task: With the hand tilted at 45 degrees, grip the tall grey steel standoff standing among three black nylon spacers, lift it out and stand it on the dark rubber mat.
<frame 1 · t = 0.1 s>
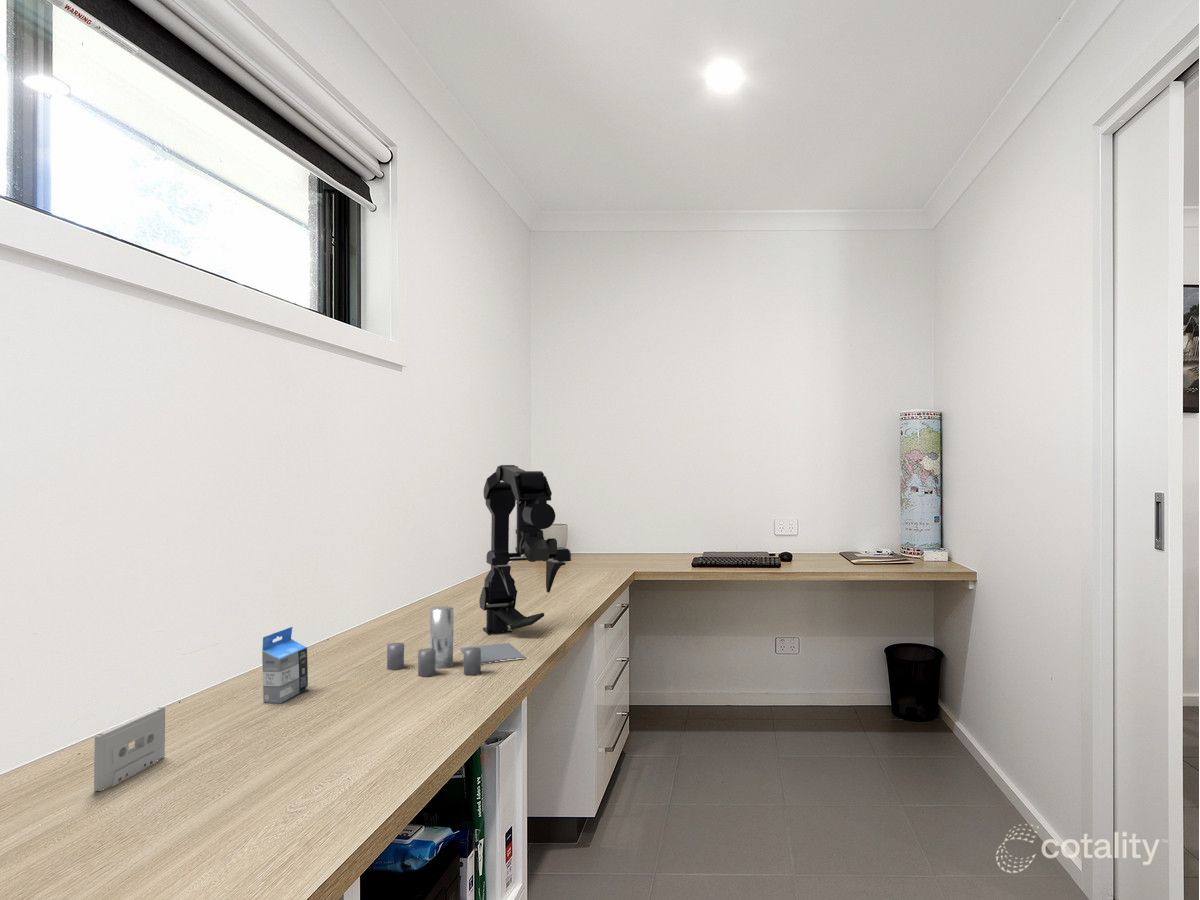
hand: (529, 593, 166), 15 cm above the worktop, tool pointing down, fingers open, 9 cm apart
nylon spacers: (430, 660, 154), on the worktop
cassette: (131, 775, 104), on the worktop
rubber mat: (492, 654, 168), on the worktop
handheld gaming console: (523, 625, 189), point 2 cm above the worktop, touching arm
steel standoff: (441, 665, 159), on the worktop
label tape box: (285, 697, 139), on the worktop
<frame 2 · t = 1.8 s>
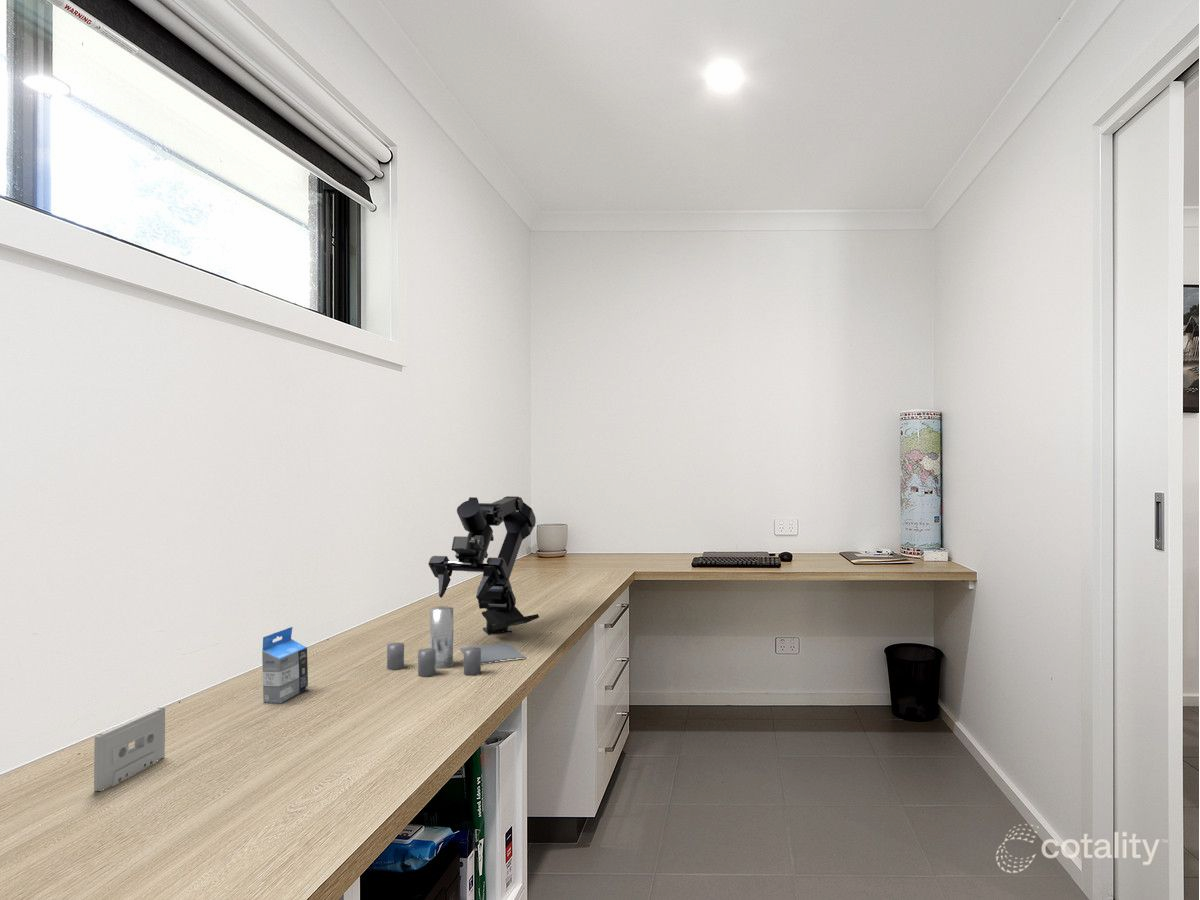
hand: (458, 597, 168), 13 cm above the worktop, tool tilted 45°, fingers open, 9 cm apart
handheld gaming console: (513, 626, 185), point 3 cm above the worktop, touching arm
everything else where it was.
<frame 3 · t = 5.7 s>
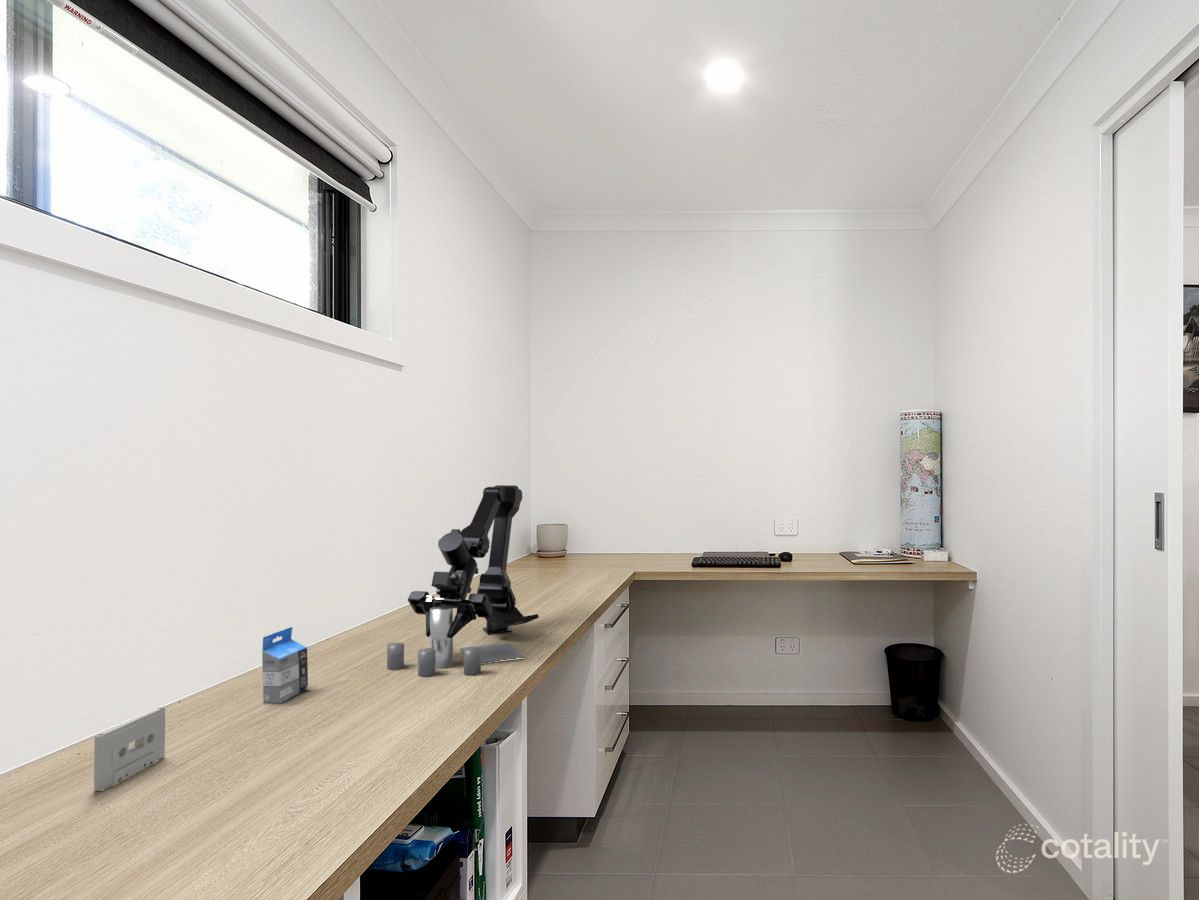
hand: (438, 636, 158), 7 cm above the worktop, tool tilted 45°, fingers closed on steel standoff, 5 cm apart
steel standoff: (441, 665, 159), on the worktop, touching gripper
everything else where it was.
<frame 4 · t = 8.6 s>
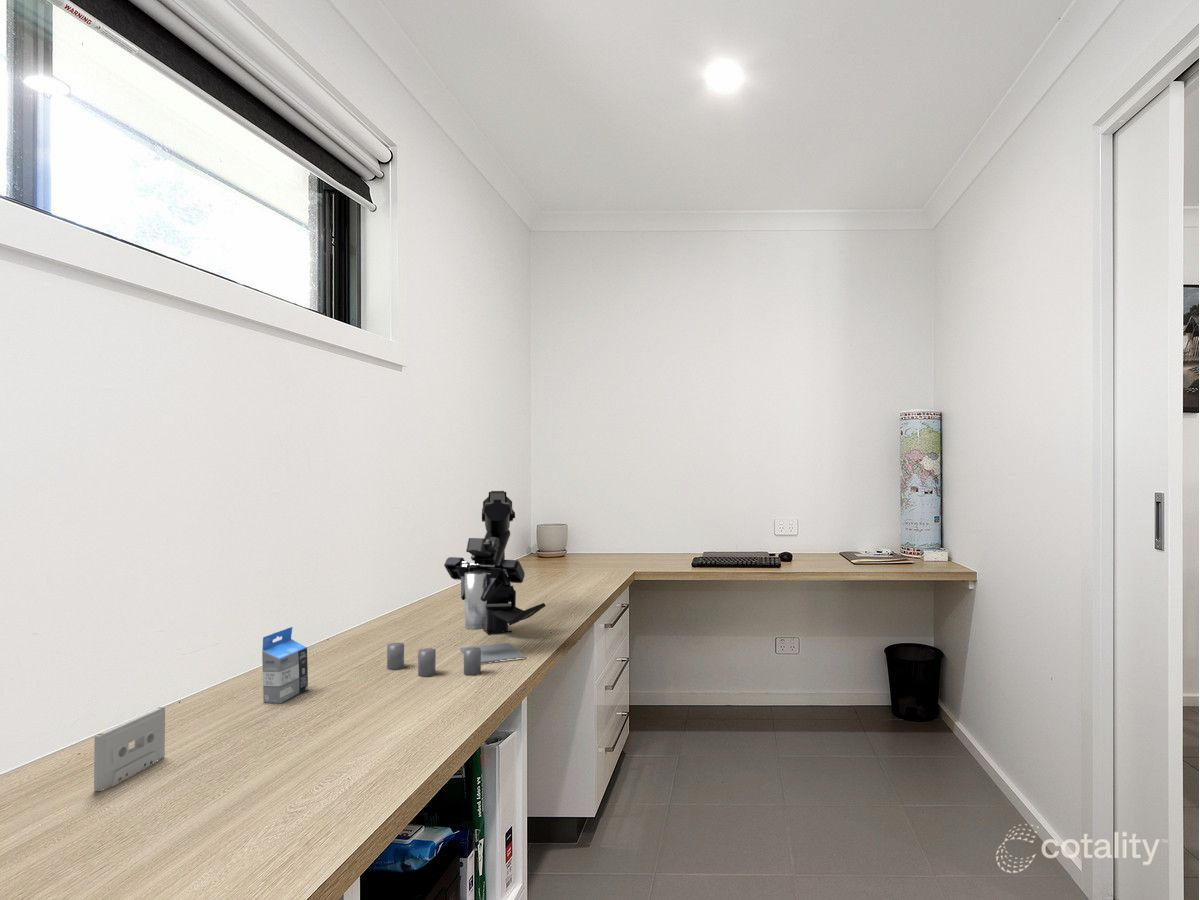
hand: (473, 599, 166), 13 cm above the worktop, tool tilted 45°, fingers closed on steel standoff, 5 cm apart
handheld gaming console: (524, 619, 187), point 4 cm above the worktop, touching arm
steel standoff: (476, 627, 167), point 7 cm above the worktop, touching gripper
everything else where it was.
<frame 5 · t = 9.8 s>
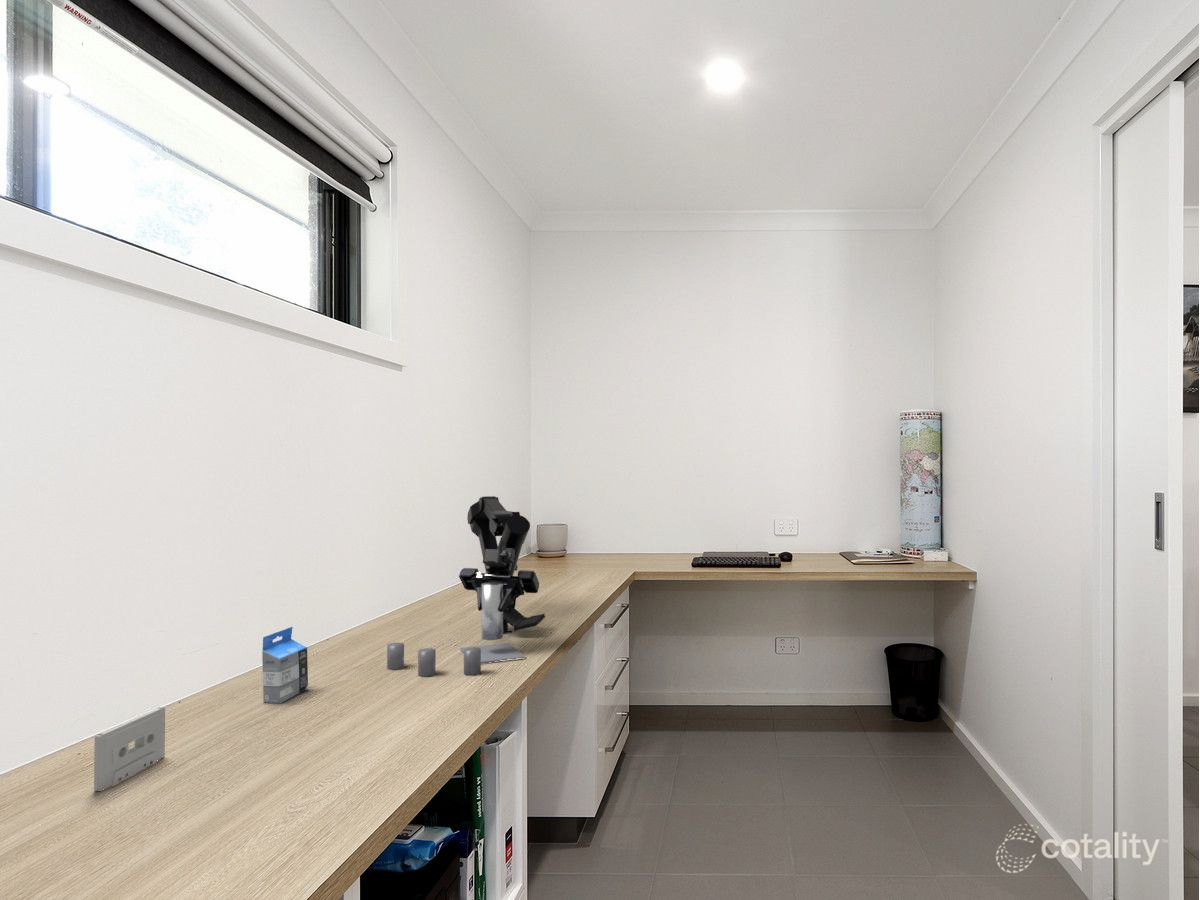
hand: (489, 610, 167), 10 cm above the worktop, tool tilted 45°, fingers closed on steel standoff, 5 cm apart
handheld gaming console: (524, 626, 189), point 2 cm above the worktop, touching arm
steel standoff: (492, 637, 169), point 4 cm above the worktop, touching gripper
everything else where it was.
when the fingers open (8 cm above the worktop, at t = 11.1 s): steel standoff stays where it is, resting on rubber mat.
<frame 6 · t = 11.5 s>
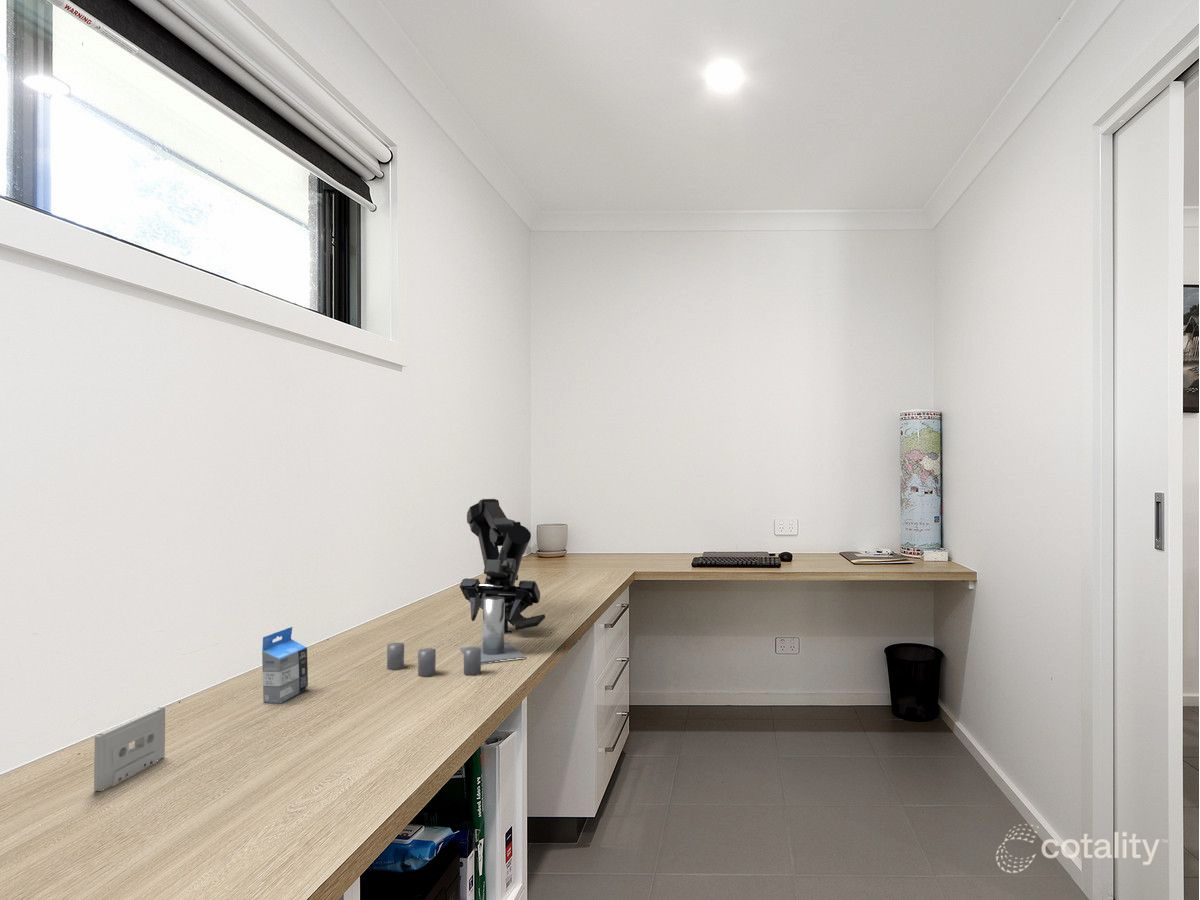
hand: (491, 620, 167), 8 cm above the worktop, tool tilted 45°, fingers open, 9 cm apart
steel standoff: (493, 651, 169), point 1 cm above the worktop, touching rubber mat
everything else where it was.
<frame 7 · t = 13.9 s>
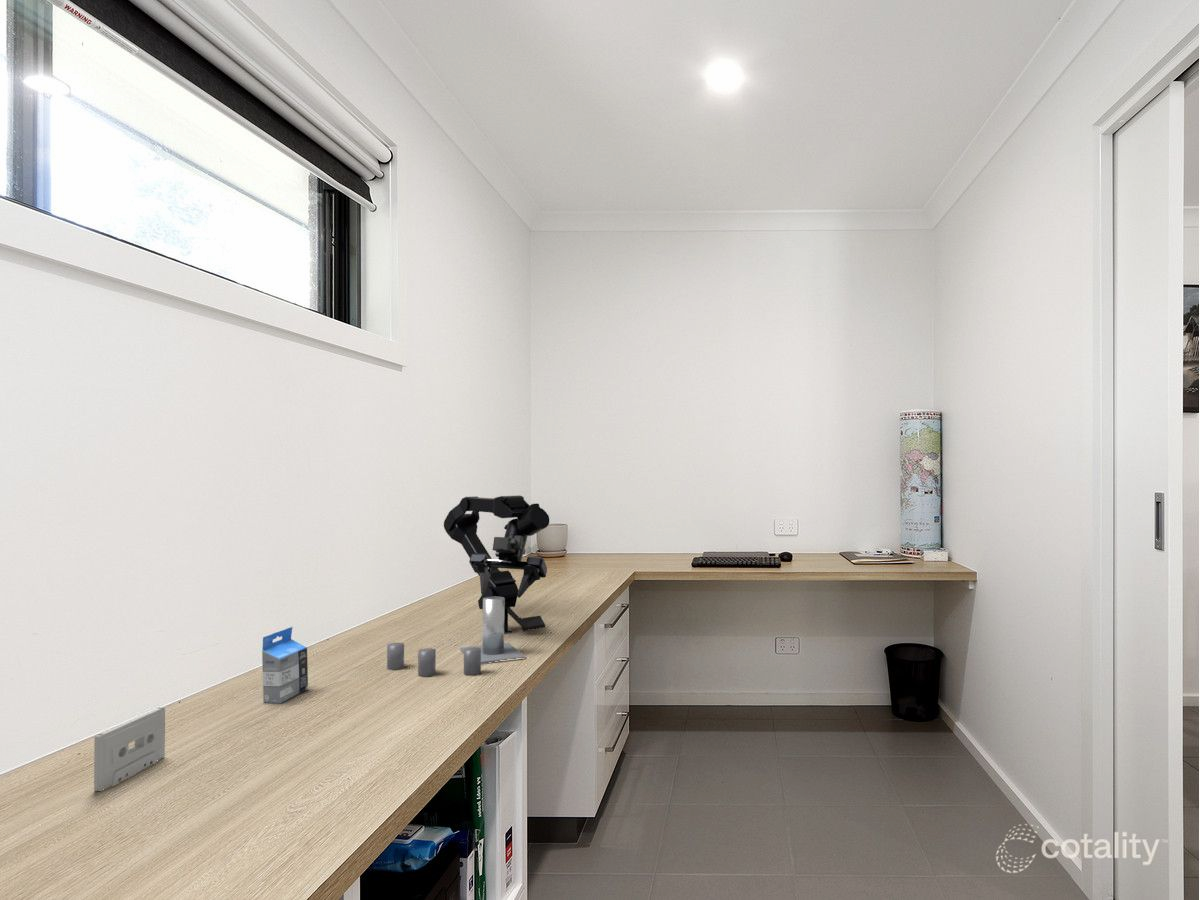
hand: (500, 595, 174), 13 cm above the worktop, tool tilted 40°, fingers open, 9 cm apart
handheld gaming console: (526, 626, 192), point 1 cm above the worktop, touching arm
everything else where it was.
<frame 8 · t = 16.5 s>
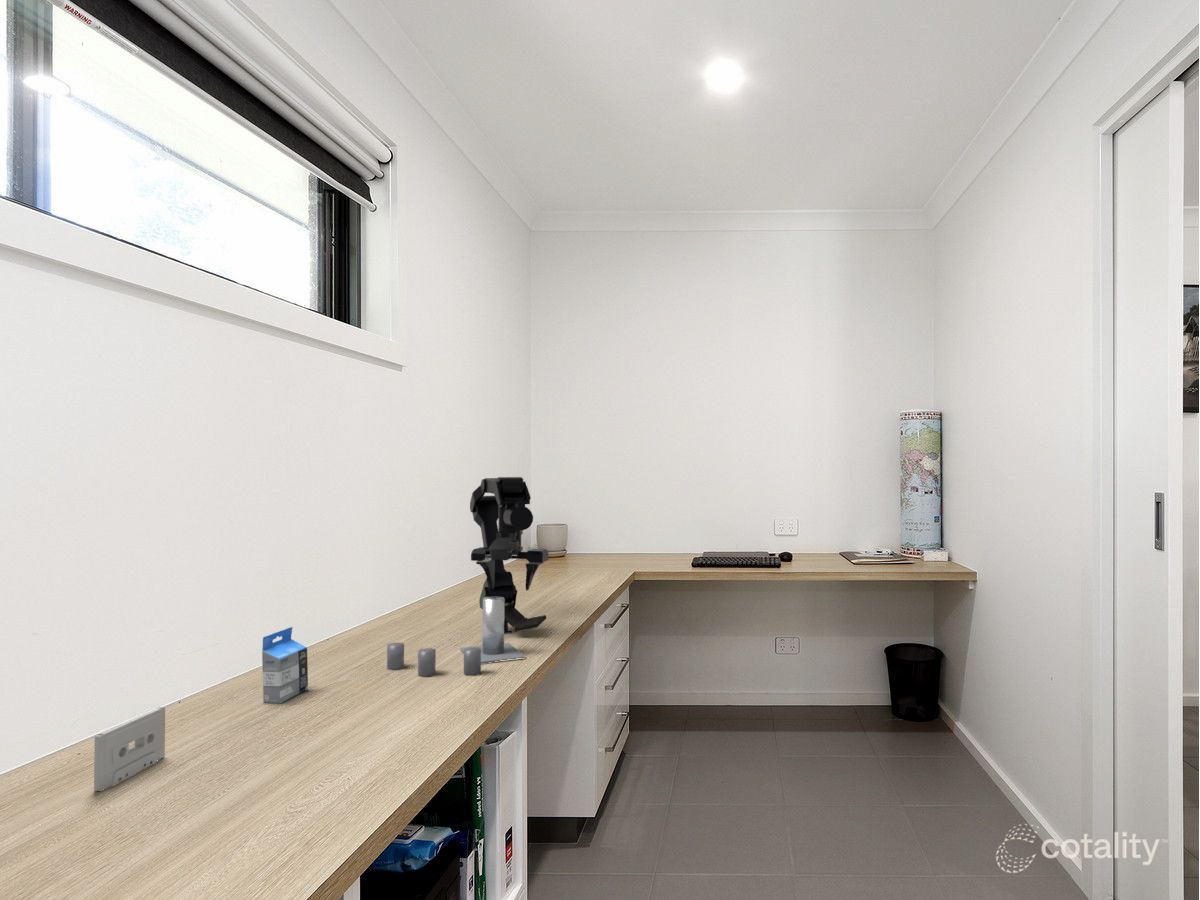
hand: (509, 589, 181), 13 cm above the worktop, tool pointing down, fingers open, 9 cm apart
handheld gaming console: (525, 627, 189), point 2 cm above the worktop, touching arm
everything else where it was.
at the end: steel standoff inside the target area on the rubber mat (0.3 cm from its centre), point 0.5 cm above the rubber mat's base; steel standoff tilted 0°; the gripper is holding nothing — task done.
